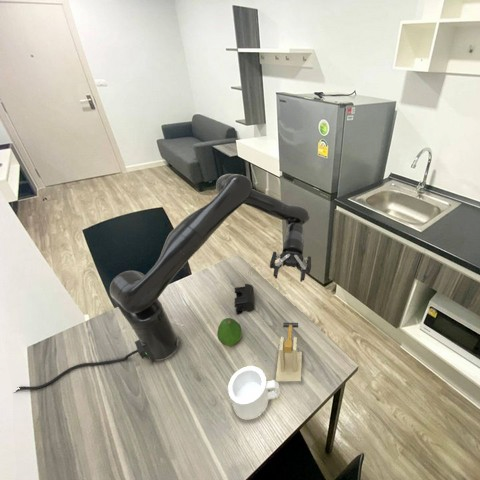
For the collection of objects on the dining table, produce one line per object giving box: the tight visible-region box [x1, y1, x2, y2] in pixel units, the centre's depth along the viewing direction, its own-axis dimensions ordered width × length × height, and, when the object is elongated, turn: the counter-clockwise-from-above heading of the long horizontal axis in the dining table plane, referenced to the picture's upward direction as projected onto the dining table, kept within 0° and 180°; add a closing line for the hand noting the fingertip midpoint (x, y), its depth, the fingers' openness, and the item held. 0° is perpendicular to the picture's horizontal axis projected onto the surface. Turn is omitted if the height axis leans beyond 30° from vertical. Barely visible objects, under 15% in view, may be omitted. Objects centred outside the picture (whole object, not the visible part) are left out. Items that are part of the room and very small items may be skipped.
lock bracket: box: [274, 336, 303, 382], centre depth 83 cm, size 10×8×14 cm
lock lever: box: [282, 322, 299, 353], centre depth 85 cm, size 12×5×2 cm, turn 1°
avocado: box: [216, 317, 243, 347], centre depth 91 cm, size 8×8×12 cm
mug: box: [227, 365, 281, 421], centre depth 76 cm, size 14×10×11 cm
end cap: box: [234, 283, 255, 315], centre depth 106 cm, size 10×7×7 cm
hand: (288, 278), depth 88 cm, fingers open, 8 cm apart
